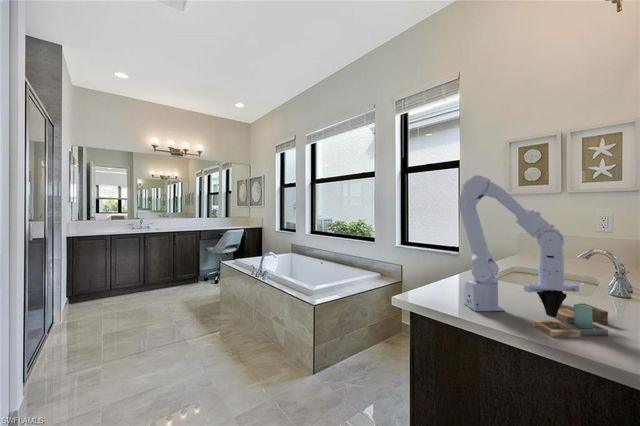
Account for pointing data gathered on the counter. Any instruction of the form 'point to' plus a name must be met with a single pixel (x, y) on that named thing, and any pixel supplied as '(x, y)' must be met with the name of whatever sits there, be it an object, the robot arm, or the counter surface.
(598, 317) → the stop block
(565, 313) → the tan cardboard block
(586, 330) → the tray
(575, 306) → the teal capsule
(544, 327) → the socket block
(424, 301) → the counter surface
